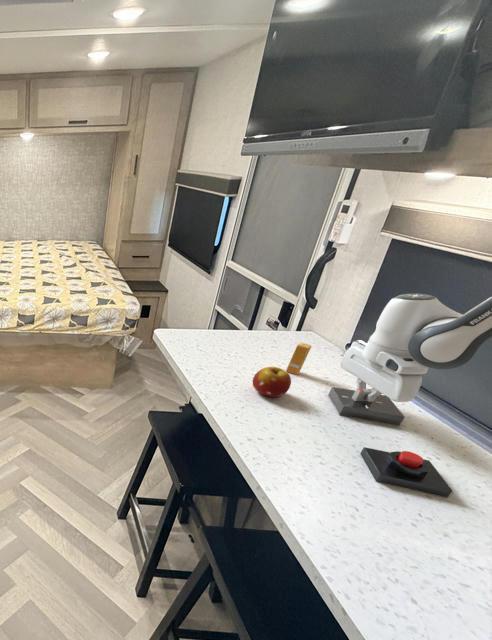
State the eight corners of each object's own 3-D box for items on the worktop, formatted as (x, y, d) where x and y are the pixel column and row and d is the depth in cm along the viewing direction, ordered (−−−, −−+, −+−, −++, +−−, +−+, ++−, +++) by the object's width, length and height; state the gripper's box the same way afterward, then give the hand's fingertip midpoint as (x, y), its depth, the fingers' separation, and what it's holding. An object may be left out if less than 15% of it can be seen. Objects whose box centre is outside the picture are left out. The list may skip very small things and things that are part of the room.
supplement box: (297, 375, 129) (308, 348, 124) (285, 371, 132) (296, 344, 127) (300, 372, 131) (312, 345, 126) (288, 368, 133) (299, 341, 129)
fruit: (265, 402, 116) (274, 379, 112) (242, 386, 123) (249, 364, 120) (293, 399, 117) (303, 375, 113) (268, 383, 125) (277, 361, 121)
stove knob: (368, 398, 112) (374, 388, 110) (372, 401, 110) (378, 391, 109) (351, 398, 112) (356, 388, 110) (355, 401, 110) (360, 390, 109)
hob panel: (382, 404, 114) (388, 395, 113) (399, 426, 105) (405, 416, 104) (328, 395, 119) (332, 386, 117) (339, 415, 110) (344, 405, 109)
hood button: (415, 459, 89) (419, 453, 88) (422, 469, 86) (427, 463, 85) (394, 455, 90) (398, 449, 89) (401, 465, 87) (405, 459, 87)
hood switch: (424, 467, 92) (433, 454, 90) (447, 498, 84) (457, 484, 82) (359, 453, 96) (367, 440, 94) (375, 482, 88) (384, 468, 86)
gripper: (344, 337, 114) (326, 378, 120) (408, 371, 96) (382, 418, 102) (367, 337, 113) (347, 378, 120) (435, 372, 95) (408, 418, 102)
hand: (364, 397), depth 111 cm, fingers closed, pressing on stove knob
